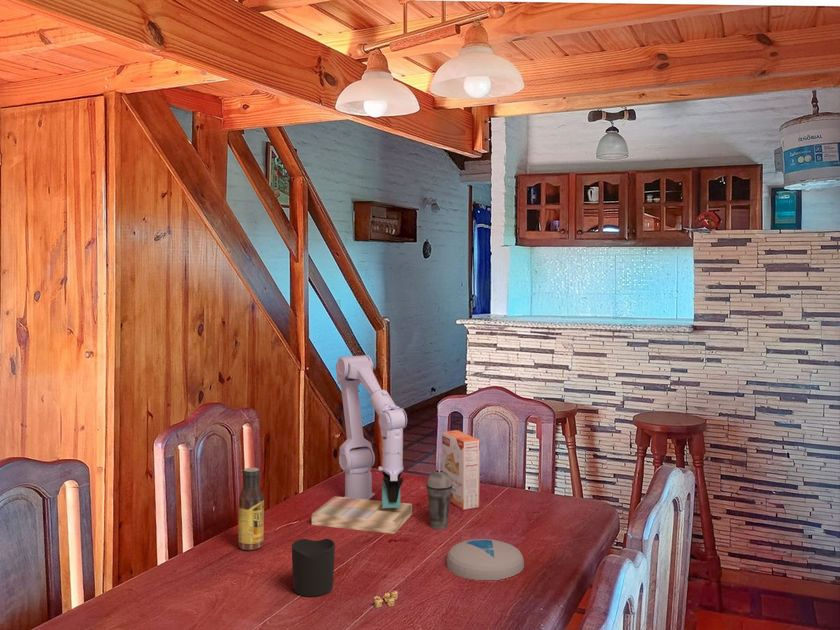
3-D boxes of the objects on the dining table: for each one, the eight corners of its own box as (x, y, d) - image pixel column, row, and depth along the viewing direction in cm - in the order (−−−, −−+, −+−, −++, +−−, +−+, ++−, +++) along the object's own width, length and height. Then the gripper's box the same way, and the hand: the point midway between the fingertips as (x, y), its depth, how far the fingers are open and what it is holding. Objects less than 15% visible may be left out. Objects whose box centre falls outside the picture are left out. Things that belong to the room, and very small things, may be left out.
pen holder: (314, 576, 169) (314, 533, 168) (343, 587, 163) (343, 543, 162) (282, 589, 162) (282, 545, 161) (311, 602, 156) (311, 556, 155)
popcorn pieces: (397, 599, 159) (397, 590, 159) (397, 609, 154) (397, 600, 154) (374, 599, 159) (374, 590, 159) (373, 610, 154) (373, 601, 153)
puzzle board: (311, 524, 203) (311, 514, 202) (334, 506, 218) (334, 496, 218) (394, 533, 196) (394, 522, 196) (411, 514, 212) (411, 503, 212)
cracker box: (440, 497, 228) (441, 430, 226) (457, 495, 230) (458, 429, 229) (462, 511, 215) (462, 440, 214) (479, 508, 218) (480, 438, 216)
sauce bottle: (257, 552, 182) (257, 473, 181) (234, 550, 184) (233, 472, 182) (268, 543, 189) (267, 467, 188) (245, 541, 190) (244, 465, 189)
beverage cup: (452, 522, 205) (453, 452, 204) (451, 532, 198) (452, 458, 197) (426, 521, 206) (427, 451, 205) (424, 530, 199) (425, 457, 197)
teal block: (381, 502, 211) (381, 481, 210) (399, 502, 211) (399, 481, 211) (382, 508, 206) (382, 487, 206) (400, 507, 206) (400, 486, 206)
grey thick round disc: (460, 586, 165) (461, 564, 164) (437, 555, 183) (437, 535, 182) (536, 577, 170) (537, 556, 169) (506, 548, 188) (506, 529, 187)
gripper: (377, 445, 215) (377, 491, 215) (379, 458, 200) (379, 507, 201) (401, 445, 215) (401, 491, 216) (405, 458, 201) (404, 506, 202)
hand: (392, 499), depth 209 cm, fingers closed on teal block, 5 cm apart
